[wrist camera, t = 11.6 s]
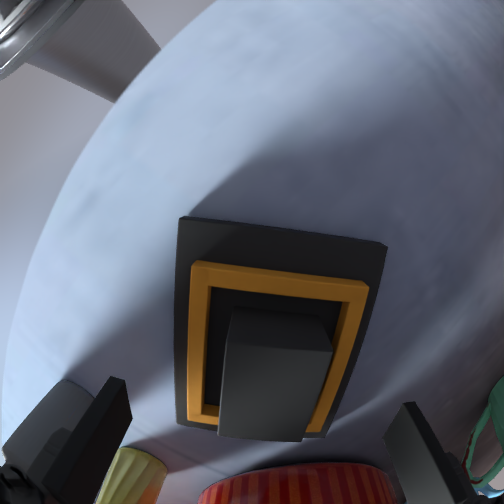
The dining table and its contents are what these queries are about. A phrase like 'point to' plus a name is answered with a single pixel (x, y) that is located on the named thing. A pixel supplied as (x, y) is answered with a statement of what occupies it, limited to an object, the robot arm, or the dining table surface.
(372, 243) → the base
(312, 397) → the black rectangular block
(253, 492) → the planter
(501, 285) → the dining table surface
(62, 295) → the dining table surface
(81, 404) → the bottle
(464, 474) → the robot arm
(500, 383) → the mug
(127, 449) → the vase
